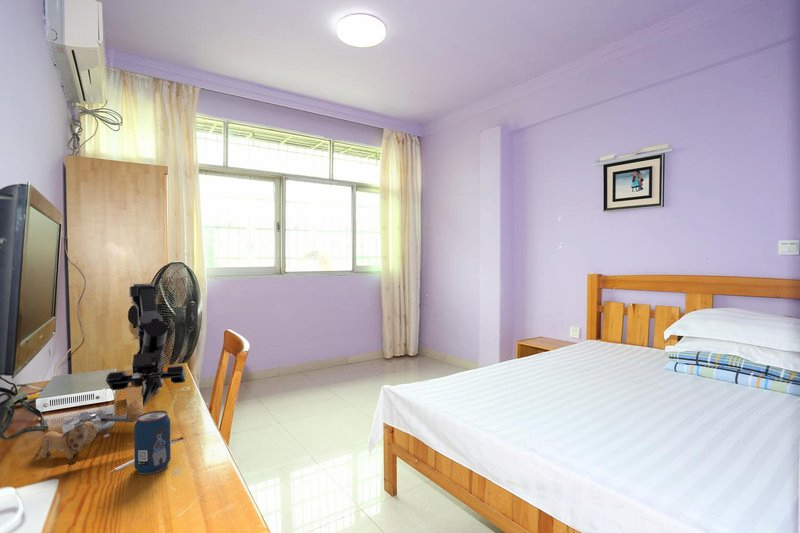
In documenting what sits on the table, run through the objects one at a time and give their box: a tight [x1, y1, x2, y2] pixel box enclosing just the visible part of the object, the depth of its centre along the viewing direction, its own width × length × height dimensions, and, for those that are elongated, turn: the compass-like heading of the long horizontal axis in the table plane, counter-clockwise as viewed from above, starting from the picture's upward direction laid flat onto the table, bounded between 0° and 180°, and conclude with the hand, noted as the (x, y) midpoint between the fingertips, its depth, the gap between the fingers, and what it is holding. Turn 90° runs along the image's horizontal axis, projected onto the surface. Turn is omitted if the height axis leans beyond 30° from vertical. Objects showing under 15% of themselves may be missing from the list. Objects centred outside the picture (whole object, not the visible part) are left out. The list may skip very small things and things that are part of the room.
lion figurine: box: [35, 421, 99, 467], centre depth 92 cm, size 15×5×9 cm, turn 95°
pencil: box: [107, 436, 184, 475], centre depth 95 cm, size 1×19×1 cm, turn 158°
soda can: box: [133, 410, 172, 475], centre depth 89 cm, size 7×7×12 cm
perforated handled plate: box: [62, 384, 144, 434], centre depth 106 cm, size 20×11×12 cm, turn 87°
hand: (142, 405), depth 108 cm, fingers closed
